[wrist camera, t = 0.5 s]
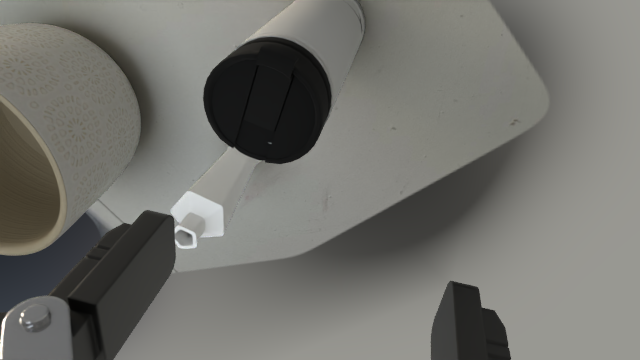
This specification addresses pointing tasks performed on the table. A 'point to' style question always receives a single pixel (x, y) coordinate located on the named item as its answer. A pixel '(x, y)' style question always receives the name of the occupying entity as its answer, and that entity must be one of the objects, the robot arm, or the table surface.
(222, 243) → the table surface
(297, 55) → the travel mug
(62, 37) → the planter
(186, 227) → the perfume bottle
